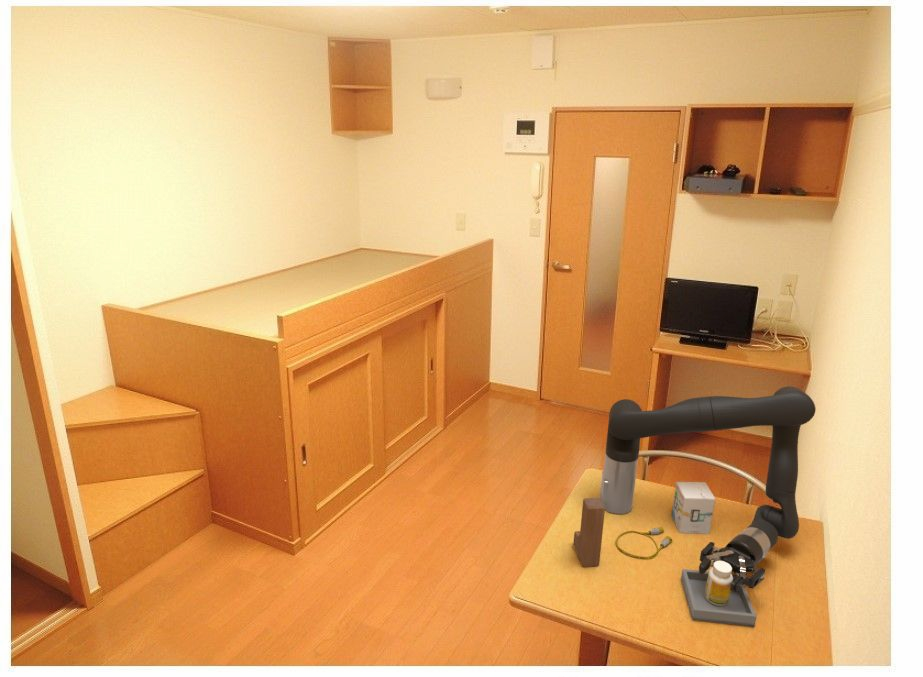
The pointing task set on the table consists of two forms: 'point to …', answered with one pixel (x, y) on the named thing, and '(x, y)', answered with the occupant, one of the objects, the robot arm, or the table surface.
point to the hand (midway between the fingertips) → (716, 579)
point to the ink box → (693, 507)
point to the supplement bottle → (719, 583)
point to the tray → (703, 610)
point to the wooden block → (590, 532)
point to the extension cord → (651, 532)
